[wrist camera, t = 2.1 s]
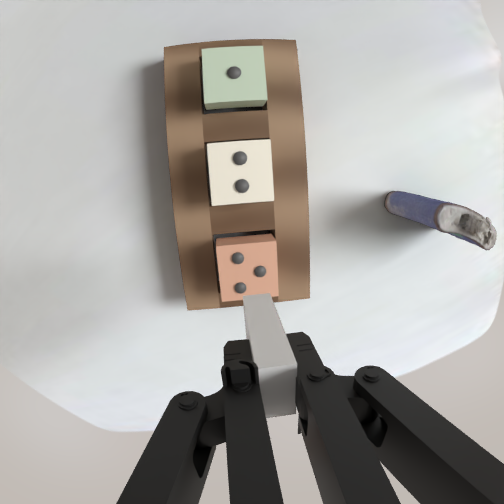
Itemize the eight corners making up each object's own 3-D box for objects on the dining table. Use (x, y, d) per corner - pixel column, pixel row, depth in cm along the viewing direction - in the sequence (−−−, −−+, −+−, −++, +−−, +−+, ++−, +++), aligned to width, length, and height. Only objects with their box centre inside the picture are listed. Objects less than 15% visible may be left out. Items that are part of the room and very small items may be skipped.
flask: (380, 210, 28) (448, 234, 18) (388, 183, 28) (458, 195, 17) (441, 232, 30) (506, 258, 20) (447, 208, 29) (515, 228, 19)
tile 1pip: (203, 59, 20) (201, 48, 18) (259, 56, 21) (263, 45, 18) (206, 109, 22) (204, 103, 19) (262, 106, 22) (267, 99, 19)
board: (169, 58, 23) (163, 47, 20) (288, 51, 23) (295, 40, 20) (190, 296, 29) (187, 310, 26) (301, 285, 30) (309, 298, 27)
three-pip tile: (216, 238, 25) (215, 246, 22) (271, 233, 25) (276, 241, 22) (221, 289, 26) (221, 302, 23) (273, 284, 26) (279, 296, 24)
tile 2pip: (208, 146, 22) (206, 143, 20) (265, 142, 23) (270, 139, 20) (213, 202, 24) (211, 206, 21) (269, 197, 24) (274, 201, 22)
